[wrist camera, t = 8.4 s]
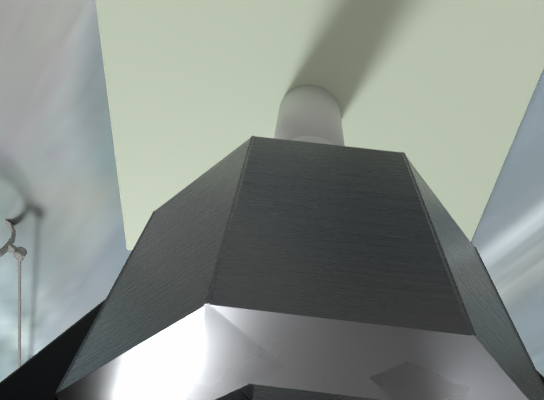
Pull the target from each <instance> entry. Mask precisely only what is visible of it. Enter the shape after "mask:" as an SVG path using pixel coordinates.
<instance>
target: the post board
mask: <svg viewBox="0 0 544 400" xmlns="http://www.w3.org/2000/svg"><path fill="white" fill-rule="evenodd" d="M96 8H97V16H98V24H99V32H100V40H101V48H102V56H103V63H104V71H105V79H106V87H107V95H108V103H109V111H110V119H111V127H112V135H113V143H114V150H115V158H116V166H117V174H118V182H119V190H120V198H121V206H122V214H123V222H124V230H125V237H126V245H127V250H133V248H134V246H135V244H136V242H137V241H138V239H139V237H140V235H141V233H142V231H143V230H144V228H145V226H146V224H147V222H148V220H149V218H150V217H151V215H152V213H153V211H155V210H157V209H158V208H159V207H161V206H162V205H163V204H164V203H166V202H167V201H168V200H170V199H171V198H172V197H174V196H175V195H176V194H178V193H179V192H180V191H181V190H183V189H184V188H185V187H187V186H188V185H189V184H191V183H192V182H193V181H195V180H196V179H197V178H198V177H200V176H201V175H202V174H204V173H205V172H206V171H208V170H209V169H210V168H212V167H213V166H214V165H215V164H217V163H218V162H219V161H221V160H222V159H223V158H225V157H226V156H227V155H229V154H230V153H231V152H232V151H234V150H235V149H236V148H238V147H239V146H240V145H242V144H243V143H244V142H246V141H247V140H248V139H249V138H251V136H253V135H254V136H257V137H266V138H275V139H284V140H293V141H302V142H311V143H320V144H329V145H339V146H348V147H357V148H366V149H375V150H384V151H393V152H403V153H405V154H406V157H407V158H408V159H409V161H410V162H411V163H412V165H413V166H414V167H415V169H416V170H417V171H418V173H419V174H420V175H421V177H422V178H423V179H424V181H425V182H426V183H427V185H428V186H429V187H430V189H431V190H432V191H433V193H434V194H435V195H436V197H437V198H438V199H439V201H440V202H441V203H442V205H443V206H444V207H445V209H446V210H447V211H448V213H449V214H450V215H451V217H452V218H453V219H454V221H455V222H456V223H457V225H458V226H459V227H460V229H461V230H462V231H463V233H464V234H465V235H466V237H467V238H468V239H469V241H470V242H471V240H472V238H473V235H474V233H475V230H476V228H477V226H478V223H479V221H480V218H481V216H482V214H483V211H484V209H485V207H486V204H487V202H488V199H489V197H490V195H491V192H492V190H493V188H494V185H495V183H496V180H497V178H498V176H499V173H500V171H501V168H502V166H503V164H504V161H505V159H506V157H507V154H508V152H509V149H510V147H511V145H512V142H513V140H514V138H515V135H516V133H517V130H518V128H519V126H520V123H521V121H522V119H523V116H524V114H525V111H526V109H527V107H528V104H529V102H530V99H531V97H532V95H533V92H534V90H535V88H536V85H537V83H538V80H539V78H540V76H541V73H542V71H543V69H544V0H96Z"/></svg>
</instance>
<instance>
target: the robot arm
mask: <svg viewBox="0 0 544 400" xmlns="http://www.w3.org/2000/svg"><path fill="white" fill-rule="evenodd" d="M105 300H106V299H105ZM105 300H104V301H103V302H101V303H100V304H99V305H98V306H96V307H95V308H94V309H93V310H91V311H90V312H89V313H87V314H86V315H85V316H84V317H82V318H81V319H80V320H79V321H77V322H76V323H75V324H74V325H72V326H71V327H70V328H69V329H67V330H66V331H65V332H63V333H62V334H61V335H60V336H58V337H57V338H56V339H55V340H53V341H52V342H51V343H50V344H48V345H47V346H46V347H45V348H43V349H42V350H41V351H39V352H38V353H37V354H36V355H34V356H33V357H32V358H31V359H29V360H28V361H27V362H26V363H24V364H23V365H22V366H21V367H19V368H18V369H17V370H16V371H14V372H13V373H12V374H10V375H9V376H8V377H7V378H5V379H4V380H3V381H2V382H0V400H58V399H57V396H56V395H55V392H56V391H57V389H58V387H59V385H60V383H61V381H62V379H63V378H64V376H65V374H66V372H67V370H68V368H69V366H70V365H71V363H72V361H73V359H74V357H75V355H76V354H77V352H78V350H79V348H80V346H81V344H82V342H83V341H84V339H85V337H86V335H87V333H88V331H89V329H90V328H91V326H92V324H93V322H94V320H95V318H96V317H97V315H98V313H99V311H100V309H101V307H102V305H103V304H104V302H105ZM536 371H537V370H536ZM537 373H538V375H539V377H540V379H541V381H542V383H543V385H544V377H543V376H542V375H541V374H540V373H539V372H538V371H537Z"/></svg>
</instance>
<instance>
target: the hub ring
mask: <svg viewBox="0 0 544 400" xmlns="http://www.w3.org/2000/svg"><path fill="white" fill-rule="evenodd" d="M55 395H56V396H57V399H58V400H544V385H543V383H542V381H541V379H540V377H539V375H538V373H537V371H536V369H535V367H534V364H533V362H532V360H531V358H530V356H529V354H528V352H527V350H526V348H525V346H524V344H523V342H522V340H521V338H520V336H519V334H518V332H517V330H516V328H515V326H514V324H513V322H512V320H511V318H510V316H509V314H508V312H507V310H506V308H505V306H504V304H503V302H502V300H501V298H500V296H499V294H498V292H497V289H496V287H495V285H494V283H493V281H492V279H491V277H490V275H489V273H488V271H487V269H486V267H485V265H484V263H483V261H482V259H481V257H480V255H479V253H478V251H477V249H476V247H474V246H473V245H472V243H471V242H470V241H469V239H468V238H467V237H466V235H465V234H464V233H463V231H462V230H461V229H460V227H459V226H458V225H457V223H456V222H455V221H454V219H453V218H452V217H451V215H450V214H449V213H448V211H447V210H446V209H445V207H444V206H443V205H442V203H441V202H440V201H439V199H438V198H437V197H436V195H435V194H434V193H433V191H432V190H431V189H430V187H429V186H428V185H427V183H426V182H425V181H424V179H423V178H422V177H421V175H420V174H419V173H418V171H417V170H416V169H415V167H414V166H413V165H412V163H411V162H410V161H409V159H408V158H407V157H406V154H405V153H403V152H393V151H384V150H375V149H366V148H357V147H348V146H339V145H329V144H320V143H311V142H302V141H293V140H284V139H275V138H266V137H257V136H254V135H253V136H251V138H249V139H248V140H247V141H246V142H244V143H243V144H242V145H240V146H239V147H238V148H236V149H235V150H234V151H232V152H231V153H230V154H229V155H227V156H226V157H225V158H223V159H222V160H221V161H219V162H218V163H217V164H215V165H214V166H213V167H212V168H210V169H209V170H208V171H206V172H205V173H204V174H202V175H201V176H200V177H198V178H197V179H196V180H195V181H193V182H192V183H191V184H189V185H188V186H187V187H185V188H184V189H183V190H181V191H180V192H179V193H178V194H176V195H175V196H174V197H172V198H171V199H170V200H168V201H167V202H166V203H164V204H163V205H162V206H161V207H159V208H158V209H157V210H155V211H153V213H152V215H151V217H150V218H149V220H148V222H147V224H146V226H145V228H144V230H143V231H142V233H141V235H140V237H139V239H138V241H137V242H136V244H135V246H134V248H133V250H132V252H131V254H130V255H129V257H128V259H127V261H126V263H125V265H124V267H123V268H122V270H121V272H120V274H119V276H118V278H117V280H116V281H115V283H114V285H113V287H112V289H111V291H110V292H109V294H108V296H107V298H106V300H105V302H104V304H103V305H102V307H101V309H100V311H99V313H98V315H97V317H96V318H95V320H94V322H93V324H92V326H91V328H90V329H89V331H88V333H87V335H86V337H85V339H84V341H83V342H82V344H81V346H80V348H79V350H78V352H77V354H76V355H75V357H74V359H73V361H72V363H71V365H70V366H69V368H68V370H67V372H66V374H65V376H64V378H63V379H62V381H61V383H60V385H59V387H58V389H57V391H56V392H55Z"/></svg>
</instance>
